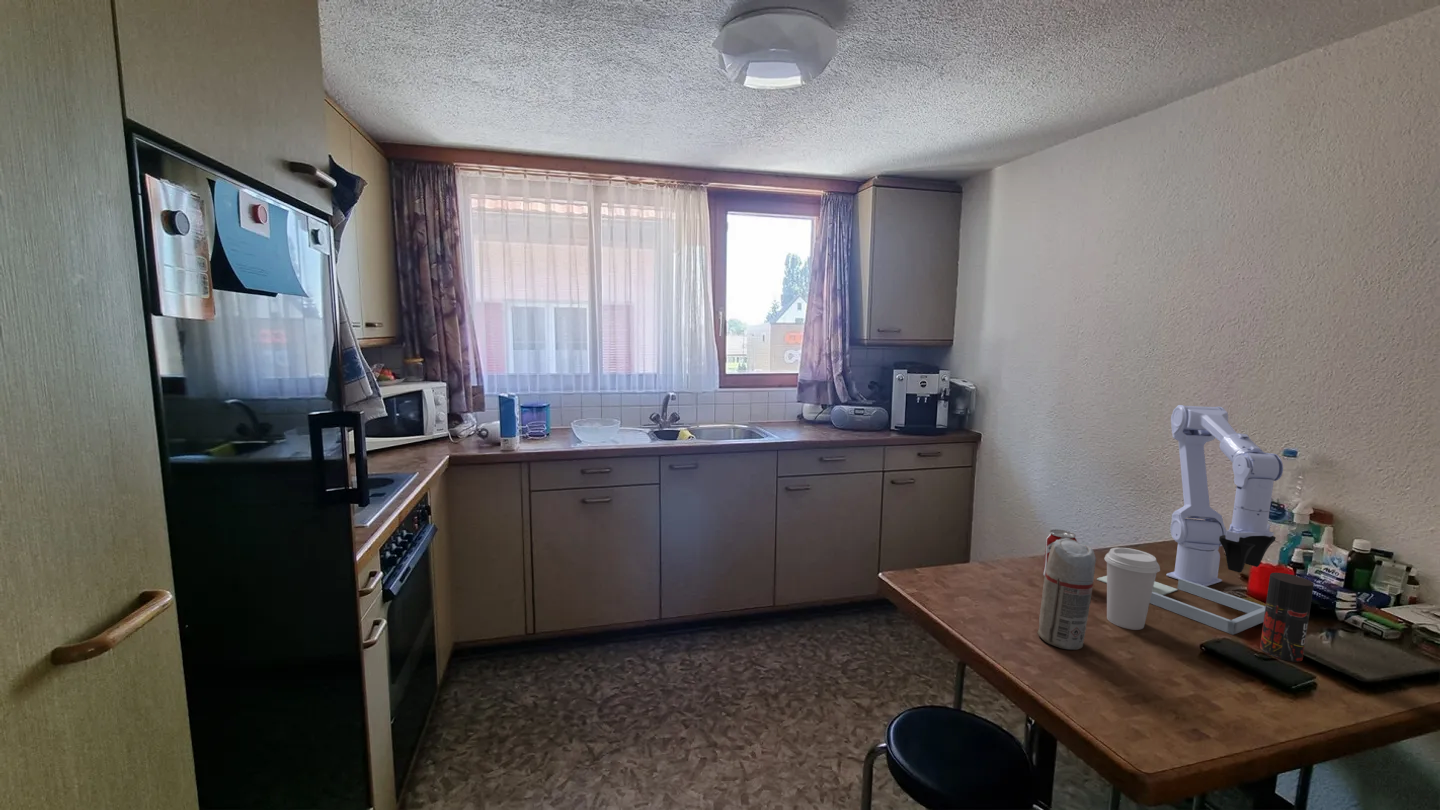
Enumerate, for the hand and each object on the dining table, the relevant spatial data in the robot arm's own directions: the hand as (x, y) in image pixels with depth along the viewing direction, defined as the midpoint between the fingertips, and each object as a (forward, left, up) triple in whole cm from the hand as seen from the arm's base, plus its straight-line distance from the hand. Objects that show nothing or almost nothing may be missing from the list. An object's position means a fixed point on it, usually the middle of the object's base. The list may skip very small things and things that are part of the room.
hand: (1243, 568), depth 127 cm
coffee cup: (+28, -8, -11) cm, 31 cm away
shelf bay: (+5, -4, -10) cm, 12 cm away
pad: (+5, -18, -10) cm, 21 cm away
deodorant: (+13, +12, -11) cm, 21 cm away
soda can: (+20, -28, -11) cm, 36 cm away
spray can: (+48, -9, -11) cm, 50 cm away
